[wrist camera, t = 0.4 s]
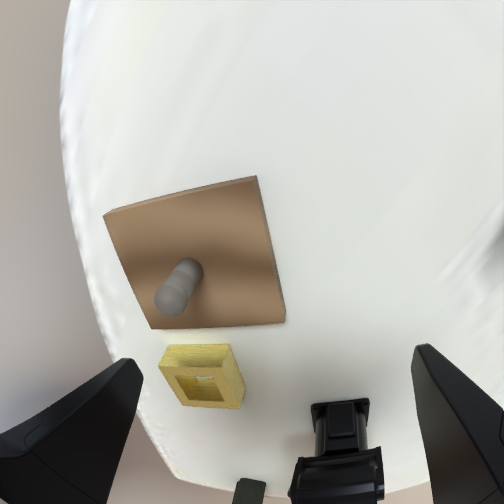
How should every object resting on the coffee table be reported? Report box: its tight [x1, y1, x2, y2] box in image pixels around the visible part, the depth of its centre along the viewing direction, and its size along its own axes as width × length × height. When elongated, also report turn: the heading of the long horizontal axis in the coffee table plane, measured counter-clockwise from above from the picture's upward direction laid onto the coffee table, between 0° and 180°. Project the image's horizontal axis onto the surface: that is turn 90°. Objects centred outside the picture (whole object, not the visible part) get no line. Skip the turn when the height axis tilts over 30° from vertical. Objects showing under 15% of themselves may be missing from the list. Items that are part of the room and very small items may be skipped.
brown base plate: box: [103, 175, 286, 329], centre depth 20 cm, size 11×12×6 cm
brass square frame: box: [158, 344, 245, 409], centre depth 27 cm, size 6×6×3 cm
